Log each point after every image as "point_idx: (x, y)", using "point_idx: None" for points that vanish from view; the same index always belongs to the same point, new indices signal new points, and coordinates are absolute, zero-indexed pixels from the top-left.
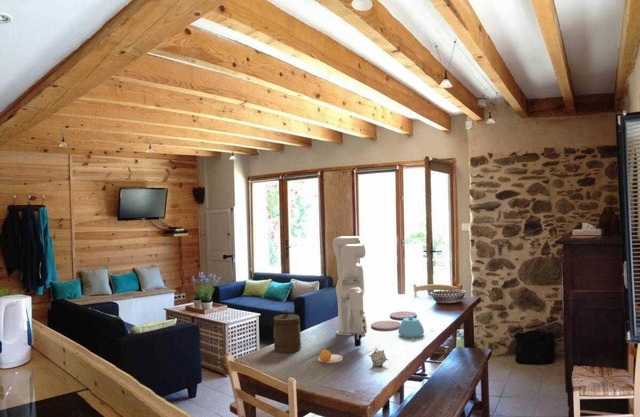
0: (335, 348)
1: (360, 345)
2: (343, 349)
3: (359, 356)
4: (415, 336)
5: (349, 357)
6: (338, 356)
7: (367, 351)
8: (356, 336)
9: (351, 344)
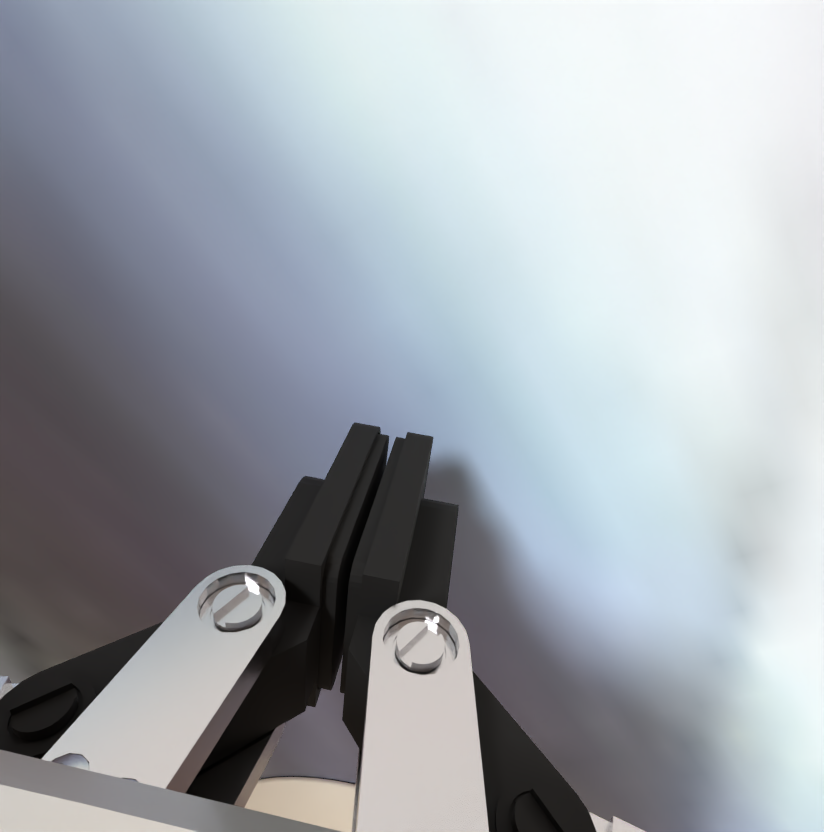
0: (71, 582)
1: (432, 438)
2: None
3: (657, 759)
4: None
5: None
6: None
7: (704, 528)
8: (254, 702)
9: (53, 231)
